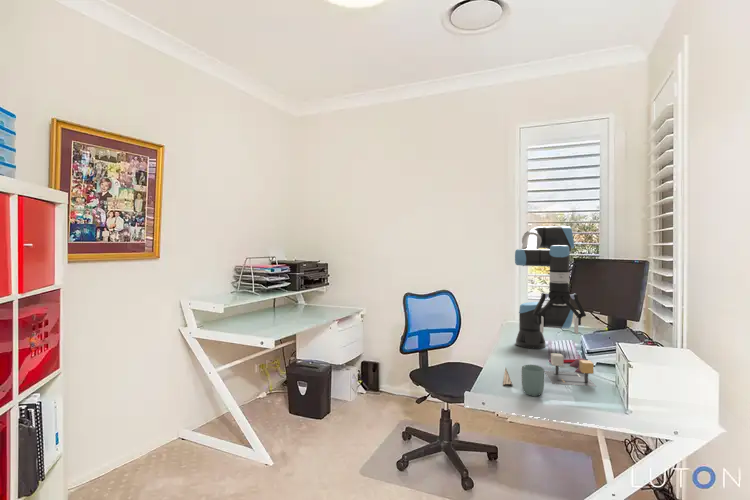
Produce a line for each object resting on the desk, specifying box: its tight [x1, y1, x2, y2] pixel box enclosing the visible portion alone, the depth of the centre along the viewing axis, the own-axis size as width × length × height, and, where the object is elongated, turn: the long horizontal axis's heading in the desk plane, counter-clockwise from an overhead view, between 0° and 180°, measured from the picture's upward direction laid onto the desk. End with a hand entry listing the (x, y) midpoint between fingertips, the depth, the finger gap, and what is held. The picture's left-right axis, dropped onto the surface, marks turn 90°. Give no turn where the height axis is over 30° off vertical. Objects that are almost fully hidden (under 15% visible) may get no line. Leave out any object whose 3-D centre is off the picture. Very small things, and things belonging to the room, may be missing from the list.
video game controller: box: [569, 357, 586, 373], centre depth 177 cm, size 10×5×7 cm, turn 169°
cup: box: [521, 364, 545, 397], centre depth 152 cm, size 8×8×10 cm
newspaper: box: [502, 367, 513, 386], centre depth 171 cm, size 24×7×2 cm, turn 160°
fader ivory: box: [550, 352, 564, 374], centre depth 170 cm, size 4×4×8 cm
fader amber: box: [579, 359, 595, 382], centre depth 160 cm, size 4×4×8 cm
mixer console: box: [544, 370, 597, 387], centre depth 165 cm, size 16×16×1 cm
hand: (558, 332), depth 169 cm, fingers open, 13 cm apart
